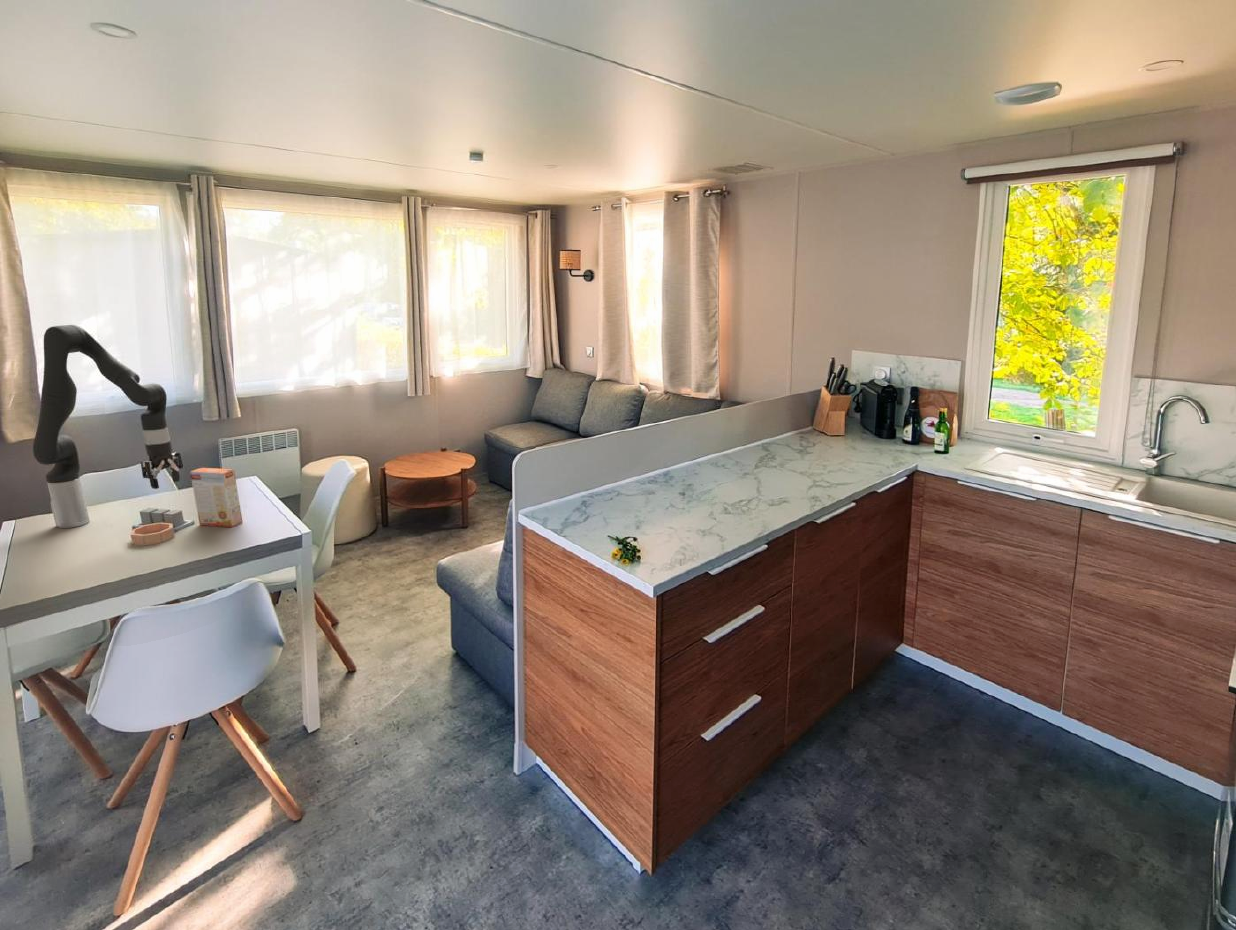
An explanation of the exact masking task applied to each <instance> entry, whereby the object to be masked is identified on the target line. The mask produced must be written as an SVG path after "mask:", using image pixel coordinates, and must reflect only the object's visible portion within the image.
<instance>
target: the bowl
mask: <svg viewBox="0 0 1236 930" xmlns="http://www.w3.org/2000/svg"><path fill="white" fill-rule="evenodd" d="M173 538H175V532H174V528H173V524H172V523H162V522H161V523H154V524H148V525H143V526H141V527H138V528H136V529H134V528H132V529H131V531H130V539H131V543H132V545H136V546H148V545H153V544H160V543H164V542H166V541H168V540H170V539H173Z"/></svg>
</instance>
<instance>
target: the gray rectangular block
mask: <svg viewBox="0 0 1236 930" xmlns="http://www.w3.org/2000/svg"><path fill="white" fill-rule="evenodd" d="M169 511H171V509H168V508H167V509H166V508H160V509H159V508H158V510H157V511H154V512H151V513H152V518H153V523H161V522H162V523H165V519H164V514H163V513H166V512H169Z"/></svg>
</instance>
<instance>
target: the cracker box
mask: <svg viewBox="0 0 1236 930" xmlns="http://www.w3.org/2000/svg"><path fill="white" fill-rule="evenodd" d="M189 472H190V478H191V485H192V489H193V490H192V491H193V494H194V500H195V505H196V506H195V507H196V511H197V517H198V522H199V523H198V524H199V526H200V525H201V526H212V527H225V528H233V527H235V526H237V525H240V524H241V523H243V515H242V510H241V505H240V504H241V503H240V498H239V492H238V485H237V479H236V474H235V469H231V468H227V469H226V468H216V467H215V468H211V467H200V468H197V469H193V470H191V471H189Z"/></svg>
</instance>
